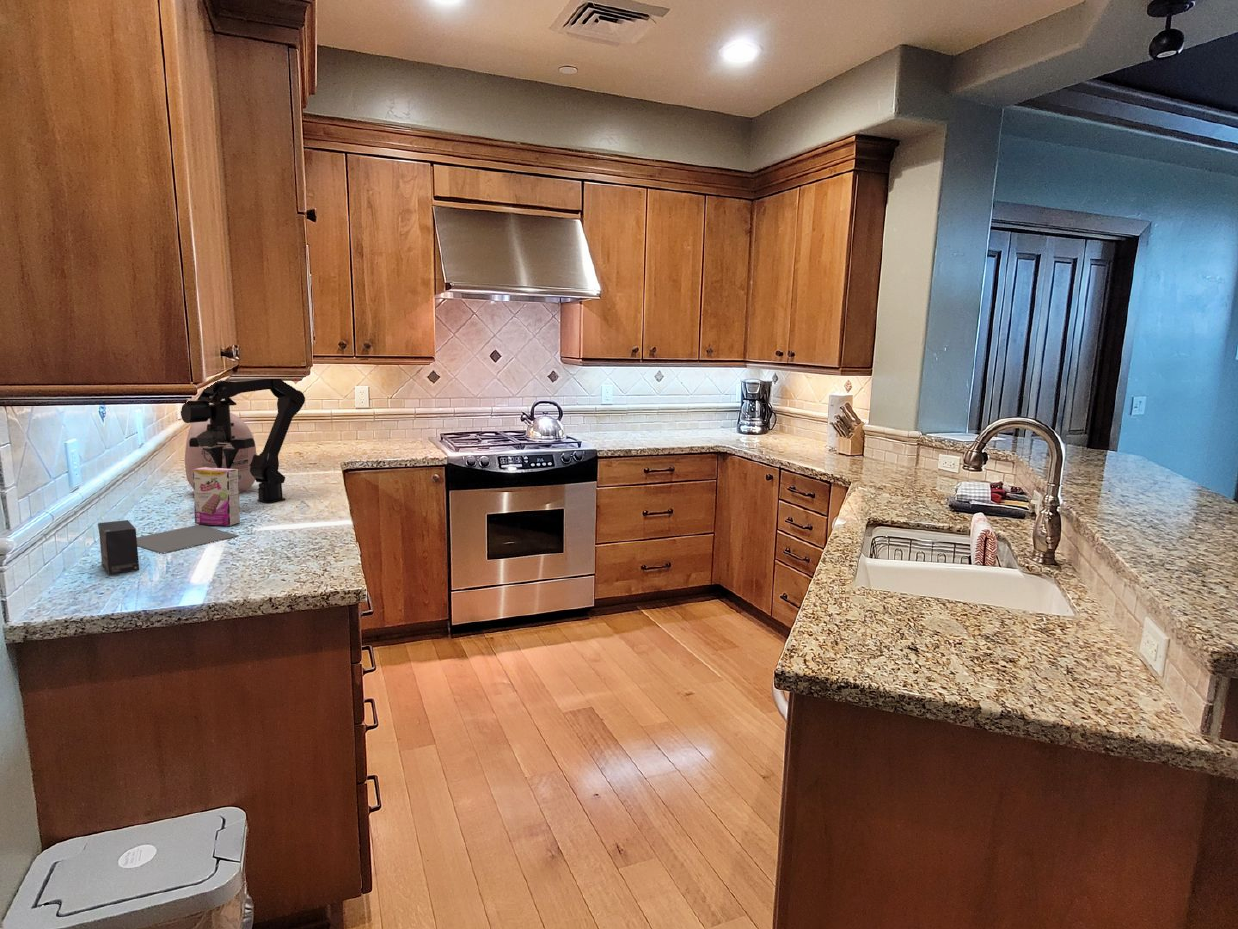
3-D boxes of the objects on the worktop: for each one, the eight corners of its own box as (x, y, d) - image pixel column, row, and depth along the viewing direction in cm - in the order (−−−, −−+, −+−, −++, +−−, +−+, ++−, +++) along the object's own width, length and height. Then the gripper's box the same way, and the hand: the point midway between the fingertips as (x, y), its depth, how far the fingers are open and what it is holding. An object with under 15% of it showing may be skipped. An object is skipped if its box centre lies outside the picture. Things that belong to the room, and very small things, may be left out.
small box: (141, 570, 165) (137, 527, 163) (108, 576, 161) (103, 532, 159) (133, 559, 173) (128, 518, 171) (100, 565, 168) (96, 522, 167)
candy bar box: (193, 524, 204) (191, 468, 202) (205, 521, 209) (203, 467, 207) (229, 526, 203) (228, 470, 201) (240, 523, 208) (239, 468, 206)
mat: (199, 525, 204) (199, 524, 204) (238, 536, 194) (238, 535, 194) (123, 541, 187) (123, 540, 187) (161, 554, 177) (161, 553, 177)
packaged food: (250, 485, 260) (244, 404, 255) (266, 494, 246) (260, 409, 241) (182, 492, 246) (174, 407, 240) (195, 502, 231) (187, 412, 226)
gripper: (173, 422, 212) (178, 472, 215) (231, 424, 210) (235, 475, 213) (199, 418, 223) (203, 466, 226) (254, 420, 221) (257, 468, 224)
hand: (224, 469), depth 222 cm, fingers open, 3 cm apart
